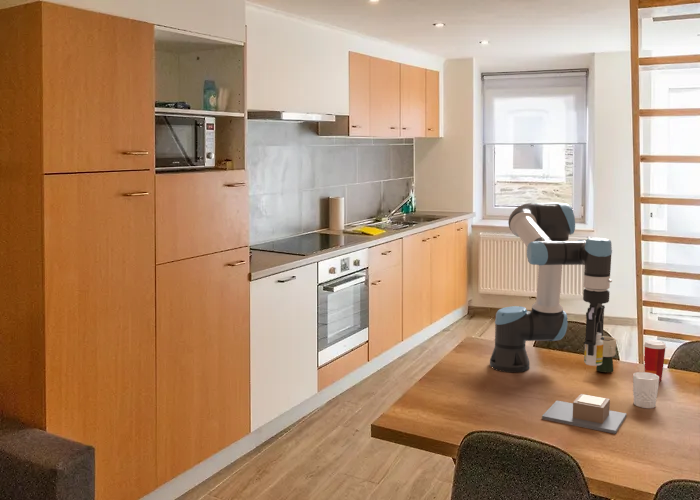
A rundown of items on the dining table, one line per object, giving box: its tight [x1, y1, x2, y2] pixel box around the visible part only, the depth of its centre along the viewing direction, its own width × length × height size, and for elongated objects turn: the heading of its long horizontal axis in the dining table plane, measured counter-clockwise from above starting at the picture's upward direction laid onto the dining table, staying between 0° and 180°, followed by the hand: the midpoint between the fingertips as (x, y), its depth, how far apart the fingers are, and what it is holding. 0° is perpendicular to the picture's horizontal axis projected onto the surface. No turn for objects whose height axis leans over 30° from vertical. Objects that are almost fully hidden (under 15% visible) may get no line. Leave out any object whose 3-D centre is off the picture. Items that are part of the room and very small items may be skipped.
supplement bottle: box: [583, 332, 603, 367], centre depth 210 cm, size 5×5×10 cm
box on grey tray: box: [541, 393, 627, 434], centre depth 214 cm, size 22×16×6 cm
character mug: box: [595, 335, 617, 374], centre depth 258 cm, size 11×7×13 cm, turn 6°
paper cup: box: [643, 339, 667, 382], centre depth 249 cm, size 8×8×14 cm
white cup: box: [632, 371, 660, 409], centre depth 224 cm, size 8×8×10 cm
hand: (593, 362), depth 211 cm, fingers closed on supplement bottle, 5 cm apart
